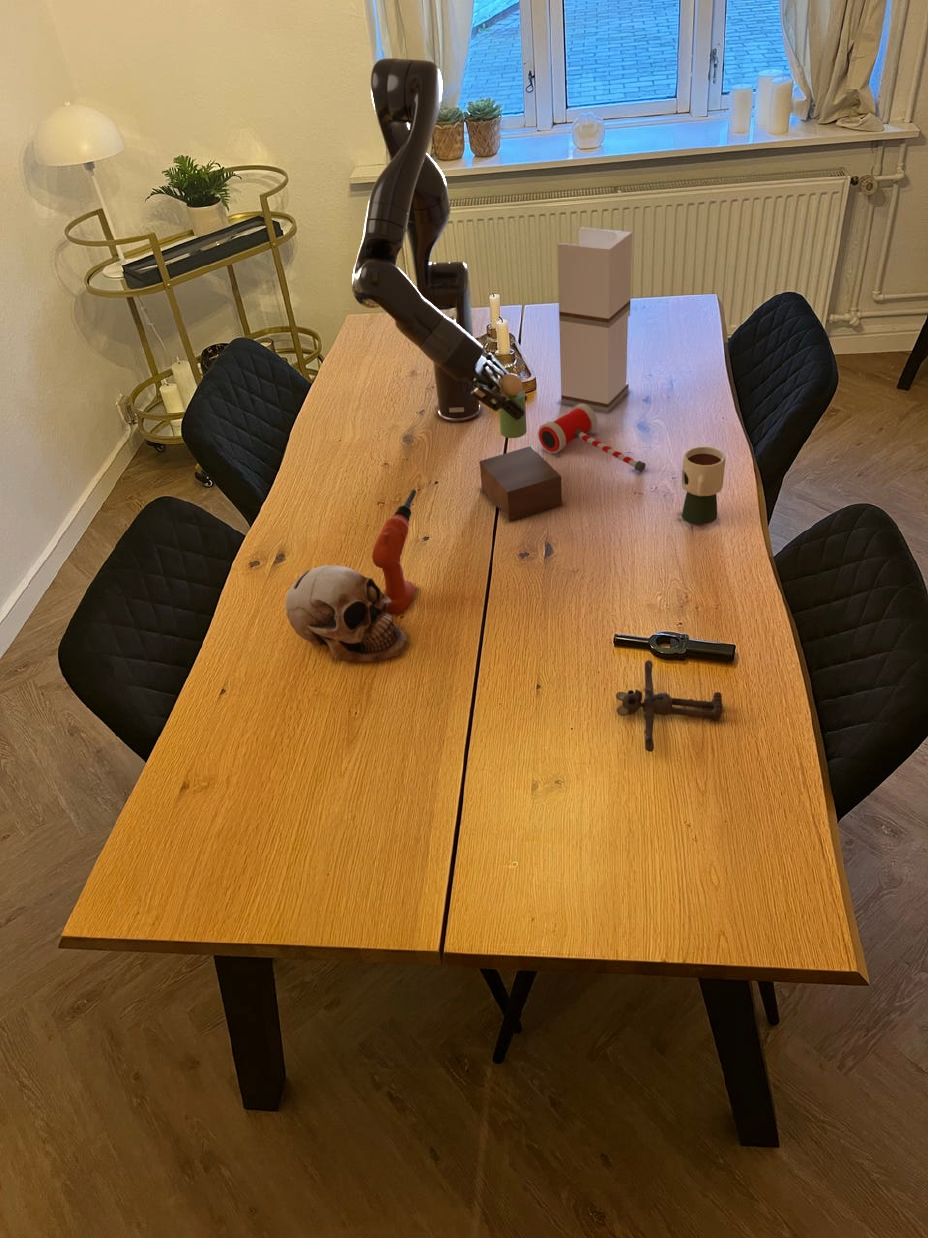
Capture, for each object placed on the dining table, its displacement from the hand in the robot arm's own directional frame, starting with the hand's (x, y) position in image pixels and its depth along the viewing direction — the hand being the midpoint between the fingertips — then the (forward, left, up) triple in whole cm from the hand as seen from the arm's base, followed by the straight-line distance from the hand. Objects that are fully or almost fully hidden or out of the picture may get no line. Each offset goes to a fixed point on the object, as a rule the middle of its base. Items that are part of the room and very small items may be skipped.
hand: (522, 408), depth 166 cm
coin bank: (+23, -43, -19) cm, 52 cm away
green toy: (-1, -2, -5) cm, 5 cm away
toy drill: (+14, -30, -19) cm, 38 cm away
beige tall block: (-30, +31, -19) cm, 47 cm away
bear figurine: (+61, -7, -19) cm, 65 cm away
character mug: (+22, +24, -19) cm, 38 cm away
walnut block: (-1, -1, -19) cm, 19 cm away
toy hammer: (-10, +19, -19) cm, 29 cm away
